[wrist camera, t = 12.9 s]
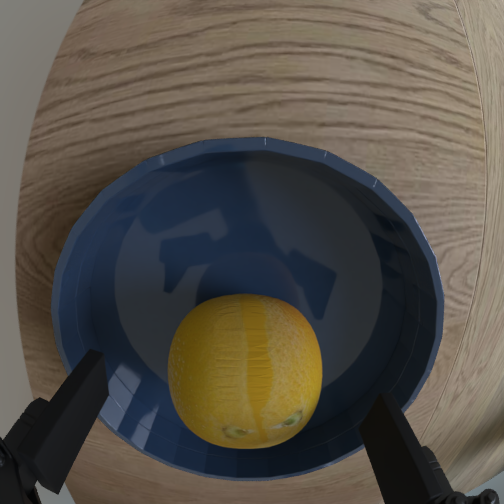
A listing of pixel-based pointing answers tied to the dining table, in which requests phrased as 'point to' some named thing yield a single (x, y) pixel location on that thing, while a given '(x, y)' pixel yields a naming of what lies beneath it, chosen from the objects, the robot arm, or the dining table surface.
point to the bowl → (249, 290)
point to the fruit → (245, 371)
